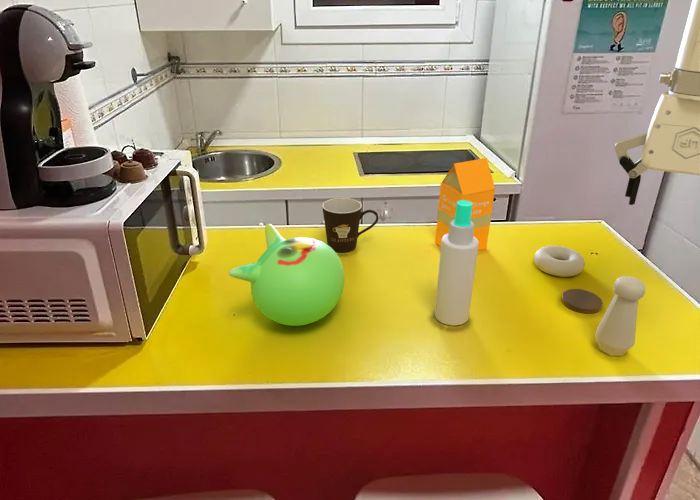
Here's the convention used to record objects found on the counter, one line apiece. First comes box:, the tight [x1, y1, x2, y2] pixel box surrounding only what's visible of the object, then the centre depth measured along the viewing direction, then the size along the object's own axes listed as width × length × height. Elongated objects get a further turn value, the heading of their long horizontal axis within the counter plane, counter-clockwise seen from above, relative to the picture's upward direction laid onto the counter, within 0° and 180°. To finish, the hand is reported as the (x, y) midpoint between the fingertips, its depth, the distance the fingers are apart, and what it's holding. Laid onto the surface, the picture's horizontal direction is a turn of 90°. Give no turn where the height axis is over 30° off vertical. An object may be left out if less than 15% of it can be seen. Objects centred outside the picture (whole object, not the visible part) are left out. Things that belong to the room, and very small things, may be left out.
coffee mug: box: [321, 197, 379, 254], centre depth 114 cm, size 12×9×10 cm
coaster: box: [560, 288, 604, 315], centre depth 97 cm, size 7×7×1 cm
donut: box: [533, 245, 586, 278], centre depth 108 cm, size 10×4×10 cm
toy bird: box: [228, 223, 345, 327], centre depth 90 cm, size 18×17×15 cm
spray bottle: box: [434, 200, 479, 327], centre depth 88 cm, size 6×6×22 cm
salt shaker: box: [595, 275, 646, 357], centre depth 82 cm, size 6×6×13 cm
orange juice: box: [434, 157, 496, 252], centre depth 113 cm, size 8×9×20 cm
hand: (668, 207), depth 75 cm, fingers open, 9 cm apart
